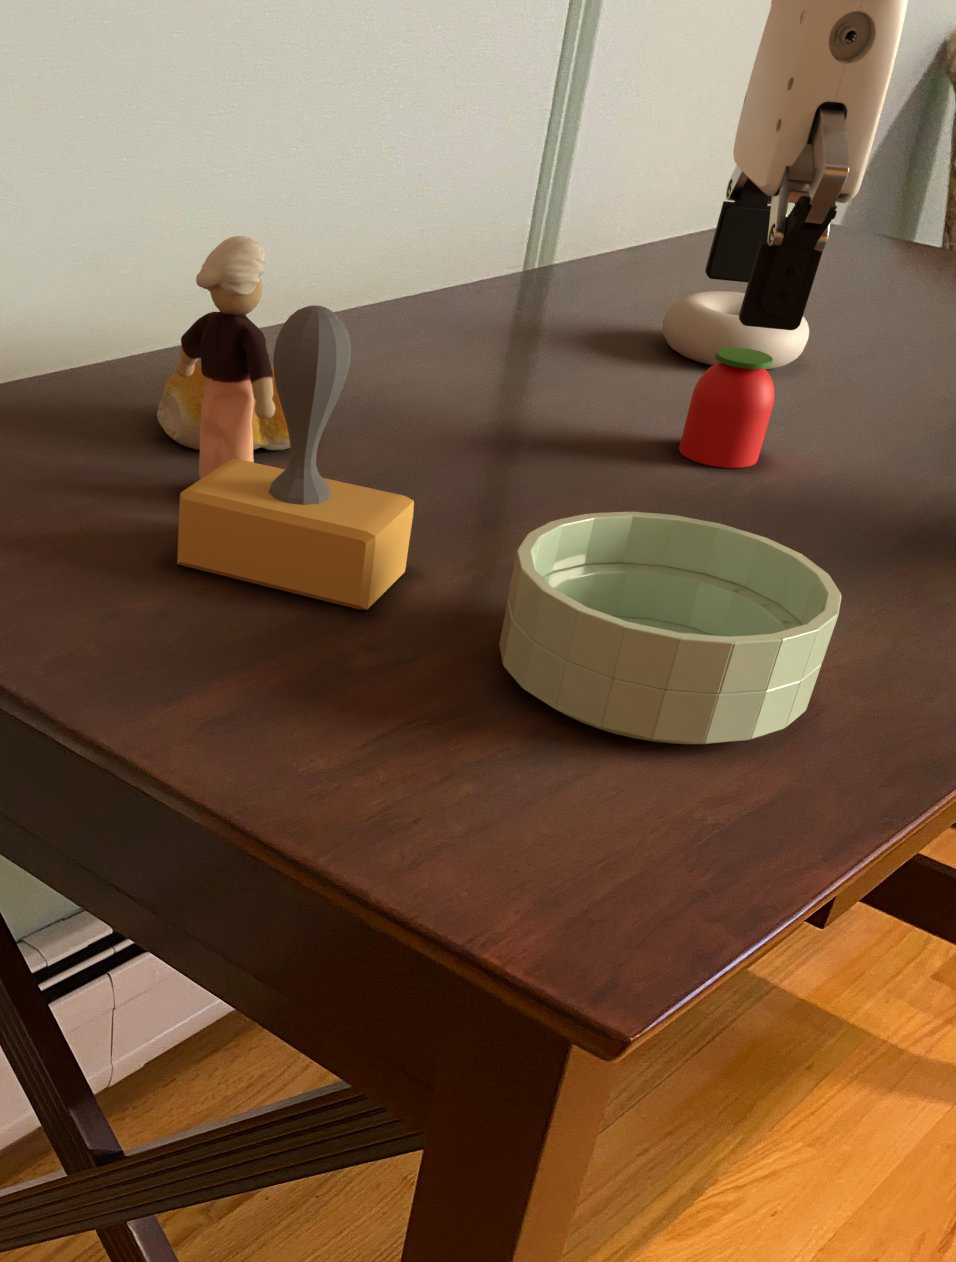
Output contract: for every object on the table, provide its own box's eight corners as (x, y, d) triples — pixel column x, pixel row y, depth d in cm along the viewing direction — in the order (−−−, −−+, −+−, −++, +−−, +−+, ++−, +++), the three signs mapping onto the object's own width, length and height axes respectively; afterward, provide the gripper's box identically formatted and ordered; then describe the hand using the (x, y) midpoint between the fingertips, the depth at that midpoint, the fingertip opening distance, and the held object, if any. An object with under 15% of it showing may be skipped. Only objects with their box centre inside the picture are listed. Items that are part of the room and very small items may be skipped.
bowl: (766, 627, 70) (798, 524, 67) (838, 768, 60) (879, 654, 57) (487, 605, 71) (506, 501, 68) (511, 741, 61) (534, 627, 57)
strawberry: (748, 445, 91) (775, 346, 87) (764, 471, 88) (794, 370, 84) (672, 439, 91) (697, 341, 88) (686, 465, 88) (711, 364, 84)
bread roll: (334, 450, 86) (341, 379, 84) (190, 463, 84) (193, 389, 81) (276, 404, 92) (282, 336, 90) (140, 415, 89) (142, 345, 87)
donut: (827, 364, 106) (711, 326, 112) (844, 313, 104) (725, 276, 110) (746, 387, 101) (628, 345, 107) (761, 333, 99) (640, 294, 104)
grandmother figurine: (299, 507, 79) (323, 246, 71) (253, 525, 77) (272, 258, 69) (192, 467, 83) (204, 216, 75) (145, 484, 81) (151, 226, 73)
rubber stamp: (407, 570, 73) (444, 311, 66) (364, 613, 69) (398, 342, 62) (225, 527, 76) (240, 274, 69) (174, 566, 72) (184, 302, 65)
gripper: (989, -46, 67) (855, 354, 77) (882, -75, 80) (780, 269, 91) (821, -62, 67) (711, 340, 78) (742, -89, 80) (657, 257, 91)
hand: (748, 302), depth 84 cm, fingers open, 9 cm apart
